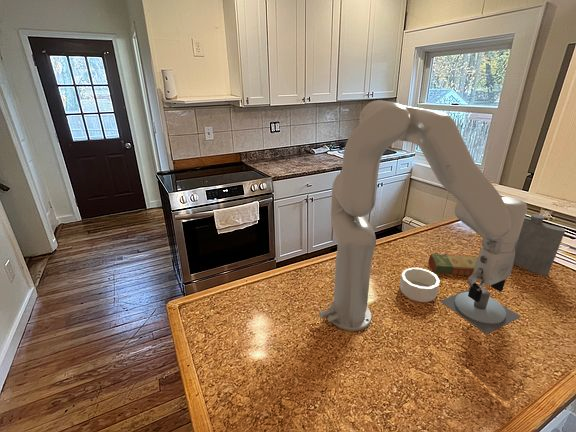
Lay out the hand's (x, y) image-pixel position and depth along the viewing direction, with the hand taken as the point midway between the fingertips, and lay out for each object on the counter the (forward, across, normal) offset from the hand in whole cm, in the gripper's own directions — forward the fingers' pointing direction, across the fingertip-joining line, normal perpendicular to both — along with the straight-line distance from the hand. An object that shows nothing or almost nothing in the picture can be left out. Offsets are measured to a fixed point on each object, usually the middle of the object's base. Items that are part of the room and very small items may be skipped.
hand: (485, 293), depth 88 cm
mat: (+6, -1, 0) cm, 6 cm away
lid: (+5, -1, 0) cm, 5 cm away
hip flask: (+7, +35, +9) cm, 37 cm away
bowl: (+6, -11, +14) cm, 19 cm away
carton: (+7, +11, +18) cm, 22 cm away
